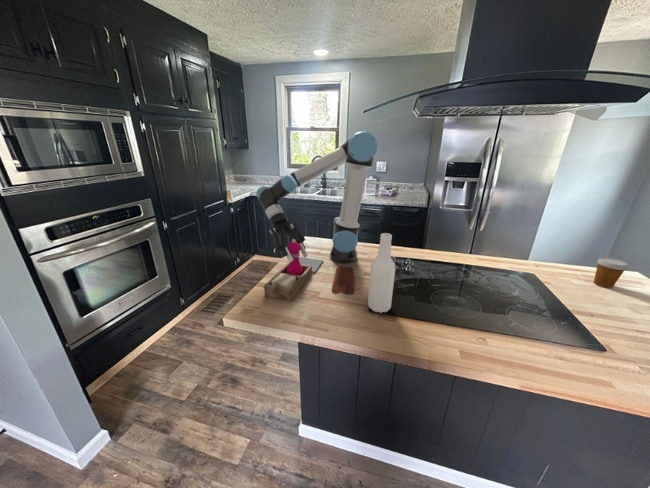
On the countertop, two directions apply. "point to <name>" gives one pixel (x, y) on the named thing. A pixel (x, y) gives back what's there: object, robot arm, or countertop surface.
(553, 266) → the countertop surface
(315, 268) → the slate tile
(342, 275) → the wooden tablet
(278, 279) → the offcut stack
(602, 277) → the disposable coffee cup
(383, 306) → the alcohol
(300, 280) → the tray
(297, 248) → the pepper mill
